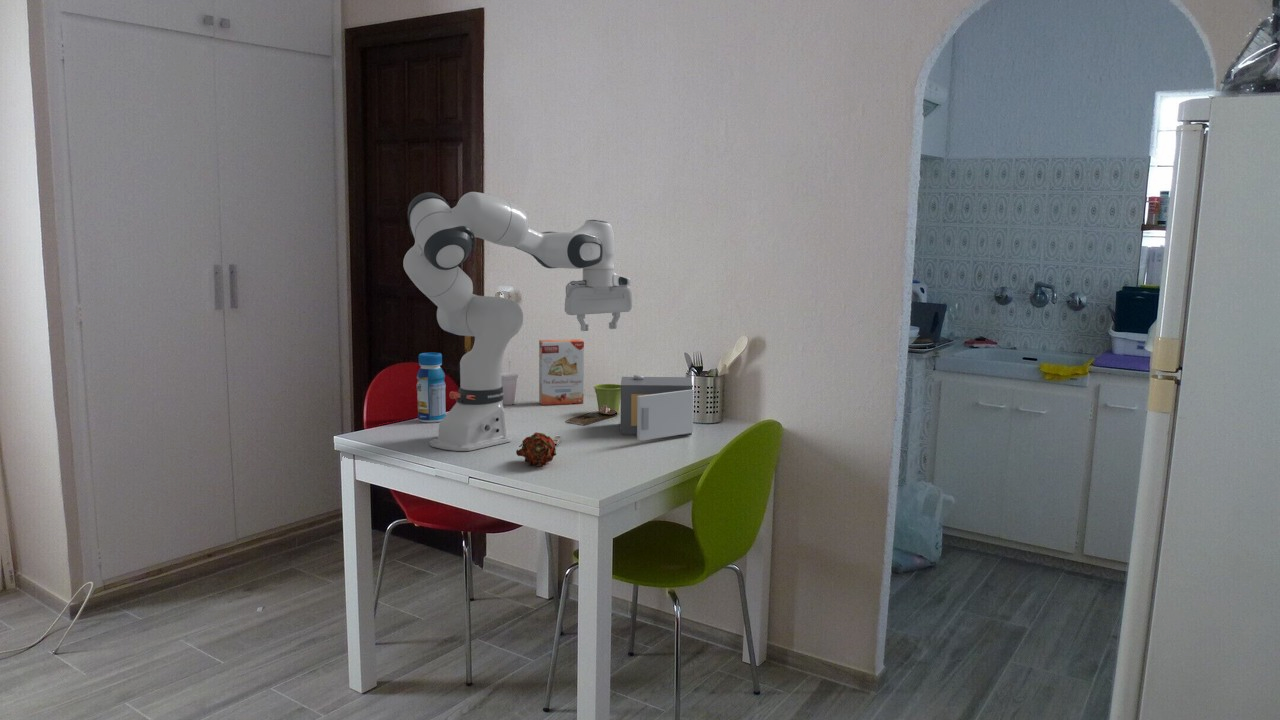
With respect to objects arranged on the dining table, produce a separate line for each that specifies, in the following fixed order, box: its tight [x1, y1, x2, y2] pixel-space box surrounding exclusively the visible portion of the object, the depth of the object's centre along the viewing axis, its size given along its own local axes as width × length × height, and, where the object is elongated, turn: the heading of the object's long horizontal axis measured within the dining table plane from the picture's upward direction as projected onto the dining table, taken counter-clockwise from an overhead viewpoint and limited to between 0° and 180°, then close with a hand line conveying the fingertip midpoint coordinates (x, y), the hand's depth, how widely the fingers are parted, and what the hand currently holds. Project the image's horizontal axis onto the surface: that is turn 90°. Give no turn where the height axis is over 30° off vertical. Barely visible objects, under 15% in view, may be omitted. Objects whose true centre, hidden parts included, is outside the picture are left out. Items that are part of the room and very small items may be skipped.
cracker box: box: [538, 338, 585, 406], centre depth 301 cm, size 14×6×21 cm, turn 105°
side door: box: [636, 389, 694, 442], centre depth 251 cm, size 2×18×12 cm, turn 125°
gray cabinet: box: [620, 374, 694, 436], centre depth 264 cm, size 14×20×15 cm
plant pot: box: [592, 383, 621, 415], centre depth 286 cm, size 9×9×9 cm
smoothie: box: [501, 360, 519, 406], centre depth 300 cm, size 6×6×14 cm
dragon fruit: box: [515, 432, 557, 467], centre depth 226 cm, size 8×8×12 cm
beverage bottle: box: [415, 352, 447, 424], centre depth 274 cm, size 8×8×20 cm
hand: (598, 329), depth 256 cm, fingers open, 8 cm apart
